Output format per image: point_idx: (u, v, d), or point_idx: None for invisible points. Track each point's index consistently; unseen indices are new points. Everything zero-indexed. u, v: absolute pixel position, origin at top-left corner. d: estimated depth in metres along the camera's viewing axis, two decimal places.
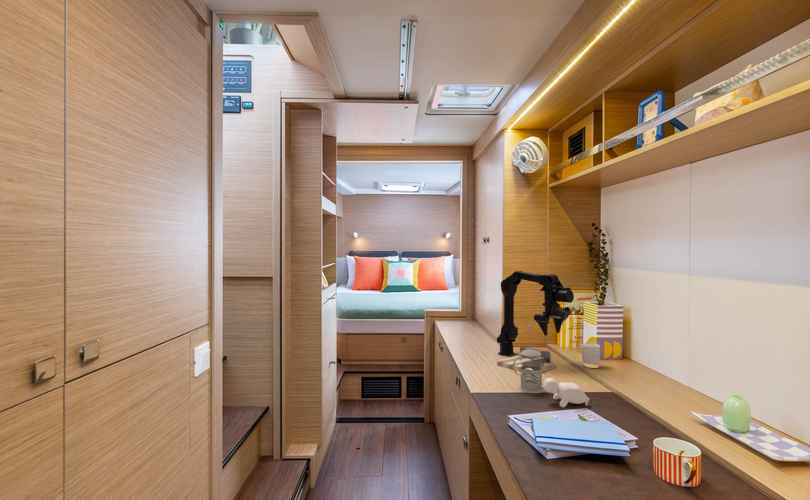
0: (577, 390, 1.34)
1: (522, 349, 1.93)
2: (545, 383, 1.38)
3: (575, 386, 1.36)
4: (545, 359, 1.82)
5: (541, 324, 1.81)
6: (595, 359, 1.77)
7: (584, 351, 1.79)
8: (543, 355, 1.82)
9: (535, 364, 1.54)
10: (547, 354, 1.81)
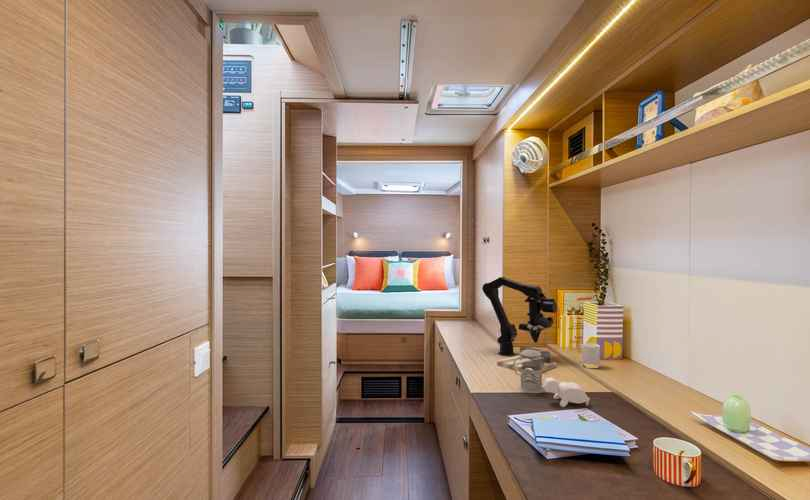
0: (577, 390, 1.35)
1: (522, 349, 1.93)
2: (545, 383, 1.38)
3: (575, 386, 1.36)
4: (545, 359, 1.82)
5: (531, 332, 1.96)
6: (595, 359, 1.77)
7: (584, 351, 1.79)
8: (543, 355, 1.82)
9: (535, 364, 1.54)
10: (547, 354, 1.81)
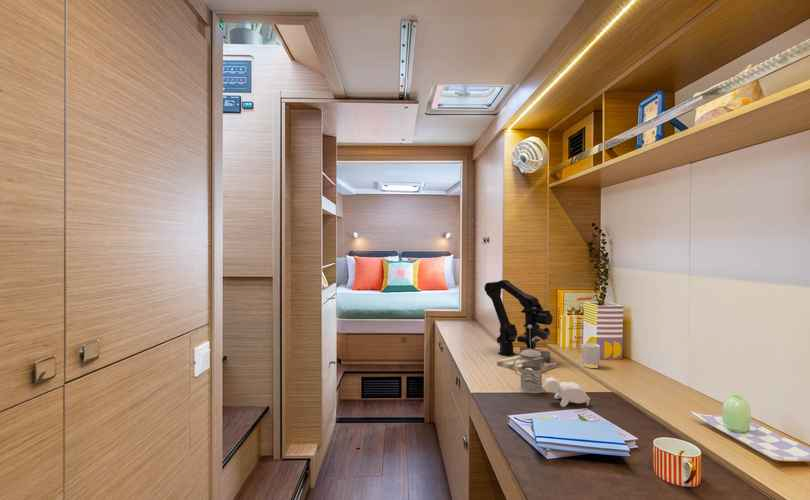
0: (578, 390, 1.35)
1: (522, 349, 1.92)
2: (546, 382, 1.38)
3: (576, 386, 1.36)
4: (545, 359, 1.82)
5: (528, 343, 1.94)
6: (595, 359, 1.77)
7: (584, 351, 1.79)
8: (543, 355, 1.82)
9: (535, 364, 1.54)
10: (547, 354, 1.81)
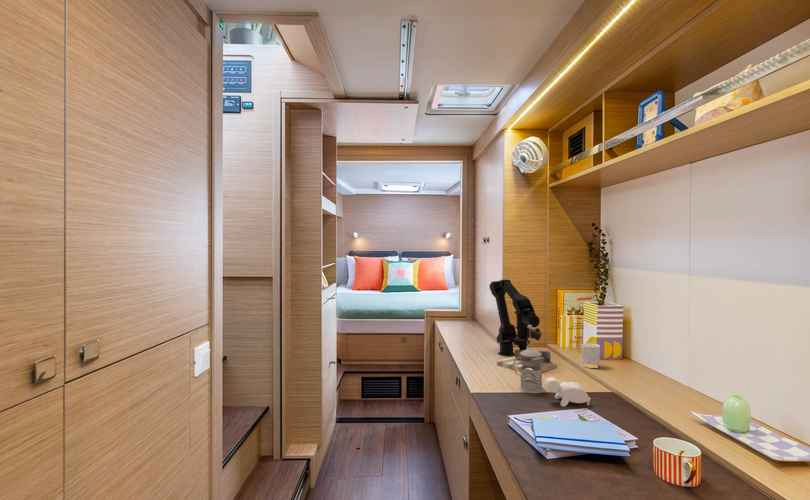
0: (578, 390, 1.35)
1: (518, 352, 1.87)
2: (546, 382, 1.39)
3: (576, 386, 1.36)
4: (547, 359, 1.81)
5: (520, 345, 1.90)
6: (595, 359, 1.77)
7: (584, 351, 1.79)
8: (545, 355, 1.82)
9: (535, 364, 1.54)
10: (549, 354, 1.82)
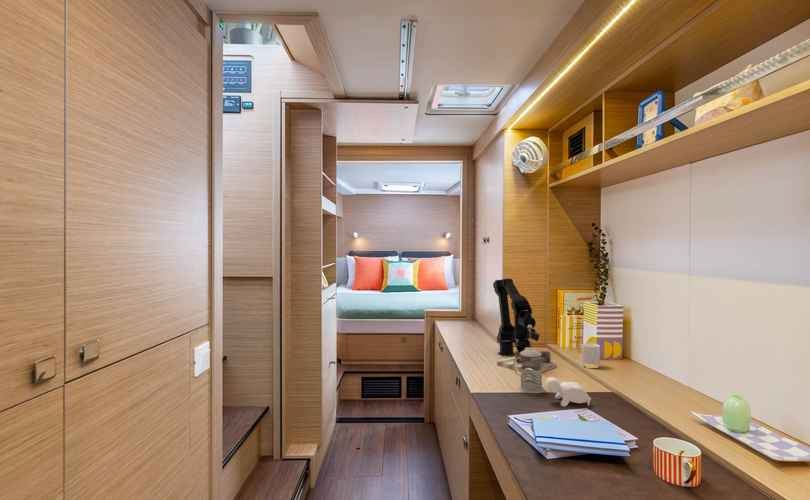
0: (578, 390, 1.35)
1: (519, 354, 1.83)
2: (547, 382, 1.39)
3: (577, 386, 1.36)
4: (548, 359, 1.81)
5: (519, 347, 1.86)
6: (595, 359, 1.77)
7: (584, 351, 1.79)
8: (546, 355, 1.81)
9: (535, 364, 1.54)
10: (549, 354, 1.82)
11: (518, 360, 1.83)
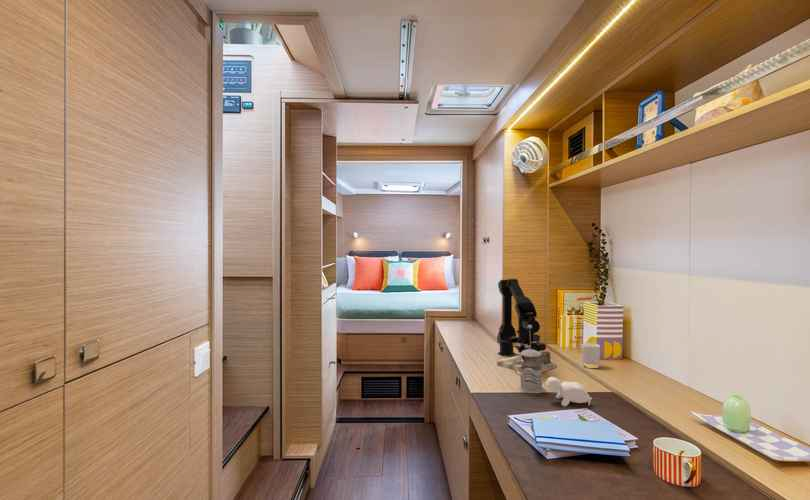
0: (579, 389, 1.35)
1: None
2: (547, 382, 1.39)
3: (577, 385, 1.36)
4: None
5: None
6: (595, 359, 1.77)
7: (584, 351, 1.79)
8: (549, 355, 1.81)
9: (535, 364, 1.54)
10: None
11: None
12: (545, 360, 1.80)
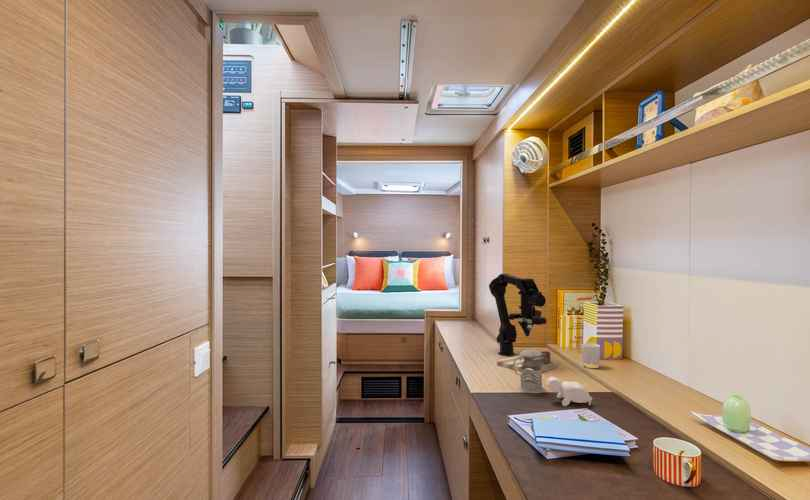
0: (580, 389, 1.35)
1: None
2: (548, 382, 1.39)
3: (578, 385, 1.37)
4: None
5: None
6: (595, 359, 1.77)
7: (584, 351, 1.79)
8: (549, 355, 1.81)
9: (535, 364, 1.54)
10: None
11: None
12: (545, 360, 1.80)
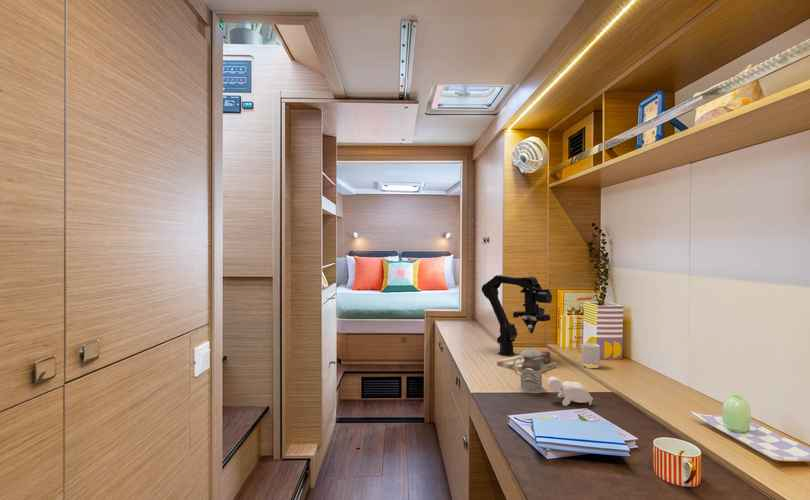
0: (580, 389, 1.35)
1: None
2: (548, 381, 1.39)
3: (578, 385, 1.37)
4: None
5: (532, 323, 1.94)
6: (595, 359, 1.77)
7: (584, 351, 1.79)
8: (549, 355, 1.81)
9: (535, 364, 1.54)
10: None
11: None
12: (545, 360, 1.80)
